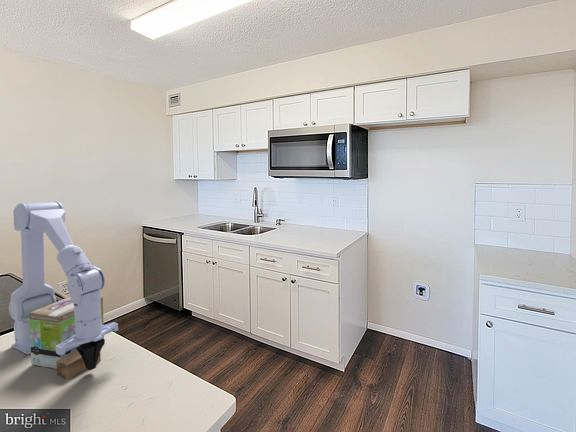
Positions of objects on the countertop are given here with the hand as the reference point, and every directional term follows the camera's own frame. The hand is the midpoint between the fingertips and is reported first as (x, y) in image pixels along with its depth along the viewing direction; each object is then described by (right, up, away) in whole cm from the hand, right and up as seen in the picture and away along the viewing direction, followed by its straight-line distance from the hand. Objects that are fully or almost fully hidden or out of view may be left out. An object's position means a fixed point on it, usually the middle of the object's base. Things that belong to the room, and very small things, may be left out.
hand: (90, 367), depth 83 cm
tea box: (-11, 0, +9) cm, 15 cm away
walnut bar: (-4, -1, +2) cm, 5 cm away
